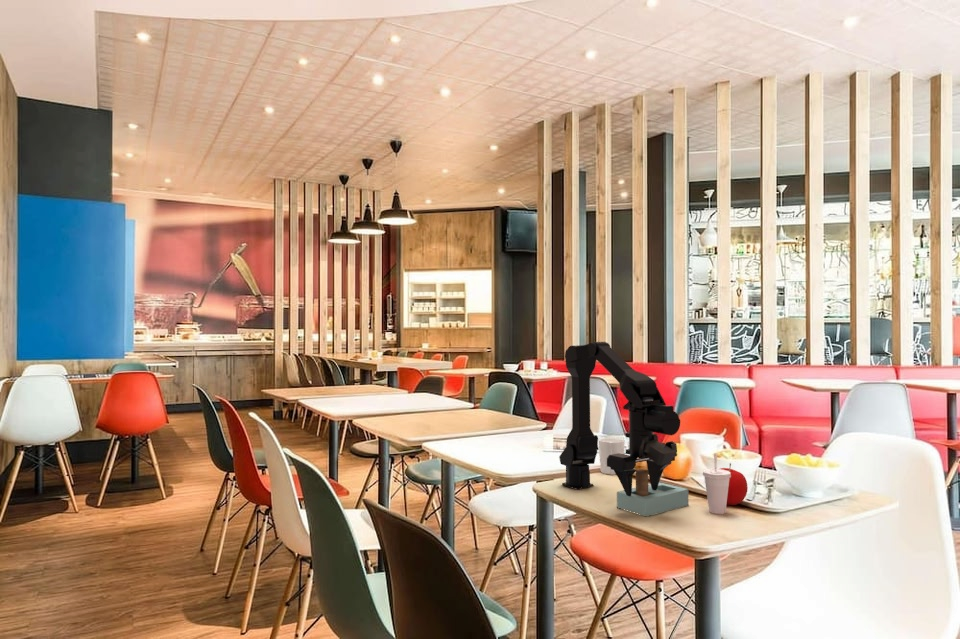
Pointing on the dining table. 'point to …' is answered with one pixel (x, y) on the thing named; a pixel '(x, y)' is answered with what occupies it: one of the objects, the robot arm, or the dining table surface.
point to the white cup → (609, 452)
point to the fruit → (736, 487)
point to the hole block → (654, 500)
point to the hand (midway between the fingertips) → (641, 493)
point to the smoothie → (717, 488)
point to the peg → (642, 482)
